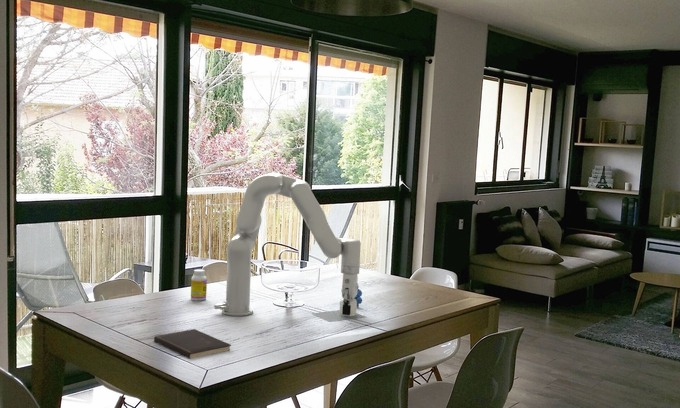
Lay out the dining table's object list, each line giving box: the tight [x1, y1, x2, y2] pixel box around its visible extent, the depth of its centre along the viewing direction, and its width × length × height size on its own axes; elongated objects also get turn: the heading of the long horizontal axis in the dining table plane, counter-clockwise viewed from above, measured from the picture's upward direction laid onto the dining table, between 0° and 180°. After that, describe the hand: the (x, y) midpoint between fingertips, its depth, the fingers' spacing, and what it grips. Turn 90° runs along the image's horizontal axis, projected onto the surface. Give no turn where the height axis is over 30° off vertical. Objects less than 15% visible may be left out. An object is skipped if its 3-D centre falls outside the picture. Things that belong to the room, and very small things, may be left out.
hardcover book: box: [153, 328, 232, 359], centre depth 231 cm, size 16×23×2 cm
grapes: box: [341, 283, 363, 308], centre depth 294 cm, size 12×7×12 cm, turn 47°
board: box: [310, 309, 367, 323], centre depth 274 cm, size 18×14×6 cm
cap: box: [339, 297, 358, 316], centre depth 277 cm, size 6×6×6 cm
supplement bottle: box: [190, 268, 208, 302], centre depth 296 cm, size 7×7×13 cm
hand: (347, 312), depth 277 cm, fingers closed on cap, 6 cm apart
